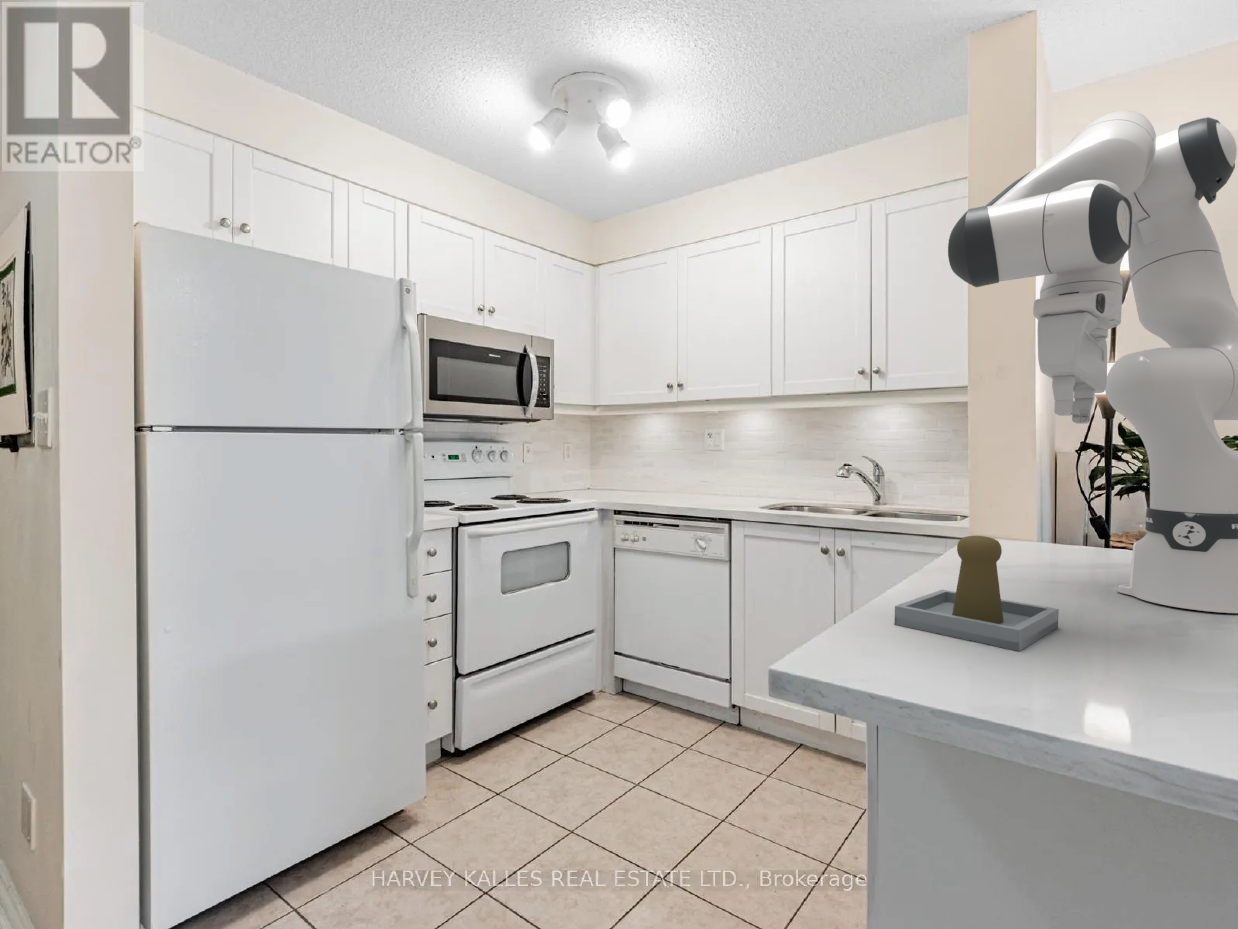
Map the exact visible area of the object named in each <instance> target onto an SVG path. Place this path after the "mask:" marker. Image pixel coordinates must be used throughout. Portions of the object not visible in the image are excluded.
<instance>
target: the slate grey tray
mask: <svg viewBox="0 0 1238 929" xmlns="http://www.w3.org/2000/svg"><path fill="white" fill-rule="evenodd" d="M955 595H956V591H952V590H947V589H946V590H945V589H940V590H936V591H934V592H931V593H928V594H926V595H922V596H920V597H917V598H914V599H911V600H908V601H905V602H903V603H900V604H896V605H894V625H896V626H902V627H904V628H909V629H914V630H919V631H923V632H924V631H925V632H929V633H934V634H937V633H938V634H937V635H941V636H946V637H951V638H955V637H956V638H955V639H960V638H961V640H964V639H965V640H966V641H969V640H972V641H971V642H974V641H976V642H975V643H978V642H979V644H983V643H986V644H985V645H988V644H990V645H989V646H992V645H993V647H998V648H1001V647H1002V649H1007V650H1011V651H1015V652H1020V651H1022V650H1023V649H1025V648H1027V647H1029V646H1030V645H1032V644H1034V643H1035V642H1037V641H1038V640H1040V639H1043V638H1044V637H1045V636H1047V635H1048V634H1050V633H1052V632H1053V631H1055V630H1056V629H1058V628H1059V616H1060V615H1059V608H1055V607H1048V606H1045V605H1044V606H1042V605H1037V604H1030V603H1025V602H1018V601H1014V600H1013V601H1012V600H1008V599H1007V600H1006V599H1002V598H1001V605H1002V613H1003V623H1000V624H995V623H990V622H985V621H980V620H975V619H969V618H964V617H959V616H954V615H952V613H953V607H954V601H955Z"/></svg>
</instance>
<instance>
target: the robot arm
mask: <svg viewBox="0 0 1238 929" xmlns="http://www.w3.org/2000/svg"><path fill="white" fill-rule="evenodd" d="M1237 150H1238V149H1237V143H1236V139H1235V137H1234V136H1233V133H1232V132H1231V131H1230V130H1229V129H1228V128H1227V127H1226V126H1224V125H1223V124H1221V122H1220V121H1219V120H1218V119H1215V118H1212V117H1209V116H1208V117H1203V118H1198V119H1195V120H1192V121H1188V122H1186V123H1182V124H1180V125H1179V127H1178V128H1176V129H1172V130H1170V131H1168V132H1165V133H1162V134H1160V135H1157V134H1156V131H1155V128H1154V125H1153V124H1152V122H1151V121H1150V120H1149V118H1147V116H1145V115H1144V114H1141V113H1140V112H1137V111H1133V110H1127V109H1126V110H1125V109H1124V110H1117V111H1113V112H1109V113H1107V114H1103V115H1102V116H1099V117H1097V118H1096V119H1094V120H1093V121H1091V122H1090V123H1088V124H1086V126H1084V127H1083V128H1082V129H1081V130H1080V131H1079V132H1078V133H1077V134H1076V135H1075V136H1074V137H1073V138H1072V139H1071V141H1070V142H1069V143H1068V144H1066V146H1065V147H1063V148H1062V149H1061V150H1060V151H1058V152H1057V153H1056V154H1054V155H1053V156H1051V157H1049V159H1047V160H1045V161H1044V162H1043V163H1041V164H1039V165H1038V166H1037V167H1034V169H1032V170H1031V171H1028V172H1027V173H1026V174H1024V175H1023V176H1021V177H1020V178H1018V179H1016V180H1015V181H1013V182H1012V183H1011V184H1009V186H1007V187H1006V188H1005V189H1003V190H1002V191H1001V192H1000V193H998V195H996V196H995V197H994V198H993V199H992V200H991V201H989V202H988V203H987V204H986V205H982V206H977V207H972V208H969V209H967V211H965V213H963V214H962V216H961V217H960V218H959V219H958V221H957V222H956V223H955V225H954V226H953V228H952V230H951V232H950V235H949V239H948V244H947V245H948V246H947V248H948V249H947V257H948V262H949V267H950V269H951V270H952V272H953V274H954V275H956V276H957V277H958V278H960V279H961V280H962V281H964V282H965V283H967V284H969V285H971V287H974V288H980V287H985V286H989V285H994V284H998V283H1000V282H1006V281H1011V280H1012V281H1013V280H1019V279H1027V278H1032V277H1033V278H1034V277H1039V276H1040V277H1041V276H1044V277H1043V283H1042V285H1041V288H1040V290H1039V298H1037V299H1035V300H1034V301H1033V308H1032V310H1033V311H1032V313H1033V316H1034V318H1035V319H1037V358H1038V359H1037V360H1038V365H1039V369H1040V372H1041V373H1042V374H1043V375H1045V376H1047V377H1048V378H1050V379H1052V384H1051V387H1052V393H1053V398H1054V409H1053V411H1054V414H1056V415H1057V416H1061V417H1064V416H1065V417H1066V416H1067V417H1068V416H1069V417H1070V416H1071V421H1072V422H1073V423H1075V424H1077V425H1078V424H1079V425H1080V424H1081V425H1082V424H1083V425H1084V424H1085V425H1086V424H1089V423H1090V422H1091V413H1092V412H1091V411H1092V409H1093V406H1094V405H1093V404H1094V402H1095V394H1103V393H1104V392H1105V396H1106V398H1107V401H1108V403H1109V404H1110V406H1111V407H1112V408H1113V410H1115V411H1116V412H1117V413H1119V414H1120V415H1121V416H1123V417H1124V418H1126V419H1127V420H1128V421H1129V422H1130V424H1131V425H1132V426H1133V428H1134V429H1135V430H1136V431H1137V433H1138V436H1139V437H1140V439H1141V441H1142V443H1143V445H1144V448H1145V451H1146V454H1147V458H1148V459H1147V460H1148V463H1149V465H1148V466H1149V507H1148V508H1146V513H1145V516H1144V522H1145V531H1147V532H1146V534H1145V535H1144V536H1143V537H1141V538H1140V539H1138V540H1137V541H1136V542H1134V543H1133V546H1132V556H1131V568H1130V579H1129V580H1130V581H1129V583H1123V584H1119V585H1117V591H1116V592H1118V593H1121V594H1124V595H1130V596H1133V597H1135V598H1137V599H1140V600H1143V601H1146V602H1150V603H1153V604H1158V605H1163V606H1166V607H1167V606H1168V607H1174V608H1180V609H1187V610H1193V611H1194V610H1195V611H1200V612H1201V611H1203V612H1213V613H1222V614H1223V613H1226V614H1238V451H1236V450H1234V449H1232V448H1231V447H1229V446H1227V445H1226V444H1225V442H1224V441H1223V440H1222V439H1221V437H1220V435H1219V433H1218V431H1217V429H1216V423H1215V421H1238V305H1237V304H1236V302H1235V299H1234V296H1233V294H1232V291H1231V287H1230V284H1229V283H1230V282H1229V281H1228V277H1227V274H1226V270H1225V266H1224V263H1223V258H1222V254H1221V250H1220V246H1219V243H1218V241H1217V237H1216V235H1215V232H1214V231H1213V228H1212V226H1211V224H1210V222H1209V220H1208V218H1207V217H1206V215H1205V213H1204V211H1203V210H1202V209H1201V206H1200V201H1201V200H1202V198H1203V197H1204V199H1205V201H1206V202H1207V203H1208V205H1211V204H1212V203H1213V202H1215V201H1216V200H1217V193H1218V192H1219V191H1220V190H1222V188H1223V187H1225V185H1226V184H1227V183H1228V181H1229V180H1230V178H1231V176H1232V174H1233V172H1234V171H1235V168H1236V163H1235V162H1236V159H1237ZM1126 253H1127V256H1128V257H1127V258H1128V269H1129V275H1130V281H1131V287H1132V290H1133V291H1132V292H1133V296H1134V297H1133V298H1134V301H1135V306H1136V311H1137V316H1138V320H1139V322H1140V324H1141V325H1142V326H1143V328H1144V329H1145V330H1146V331H1148V332H1150V333H1151V334H1152V335H1154V336H1156V337H1159V339H1162V340H1163V341H1164V342H1165V343H1166V344H1167V345H1168V346H1169V347H1156V348H1150V349H1145V350H1140V351H1135V352H1131V353H1127V354H1124V355H1122V356H1121V357H1120V358H1119V359H1117V360H1116V362H1114V364H1112V367H1111V368H1110V369H1109V371H1108V344H1107V340H1106V339H1107V338H1109V337H1108V335H1109V330H1111V329H1113V328H1117V327H1118V326H1119V325H1120V324H1121V322H1122V309H1123V308H1122V306H1123V290H1124V289H1123V287H1124V282H1123V278H1122V276H1121V272H1120V271H1121V264H1122V261H1123V259H1124V257H1125V255H1126Z"/></svg>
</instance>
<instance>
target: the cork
mask: <svg viewBox="0 0 1238 929" xmlns="http://www.w3.org/2000/svg"><path fill="white" fill-rule="evenodd" d="M956 552H957V555H958V557H959V558H960V560H961V561H960V567H959V573H958V579H957V585H956V591H955V592H956V595H955V601H954V607H953V613H952V615H954V616H959V617H964V618H969V619H975V620H980V621H985V622H990V623H995V624H1000V623H1003V613H1002V605H1001V599H1002V598H1001V591H1000V590H1001V589H1000V581H999V575H998V566H997V563H998V561H999V560H1000V559H1001V556H1002V552H1003V550H1002V545H1001V543H1000V542H999V540H998V539H995V538H992V537H991V536H990V537H989V536H986V535H985V536H984V535H969V536H968V535H967V536H963V537H961V538H960V539H959V540H958V541H957V545H956Z"/></svg>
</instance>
